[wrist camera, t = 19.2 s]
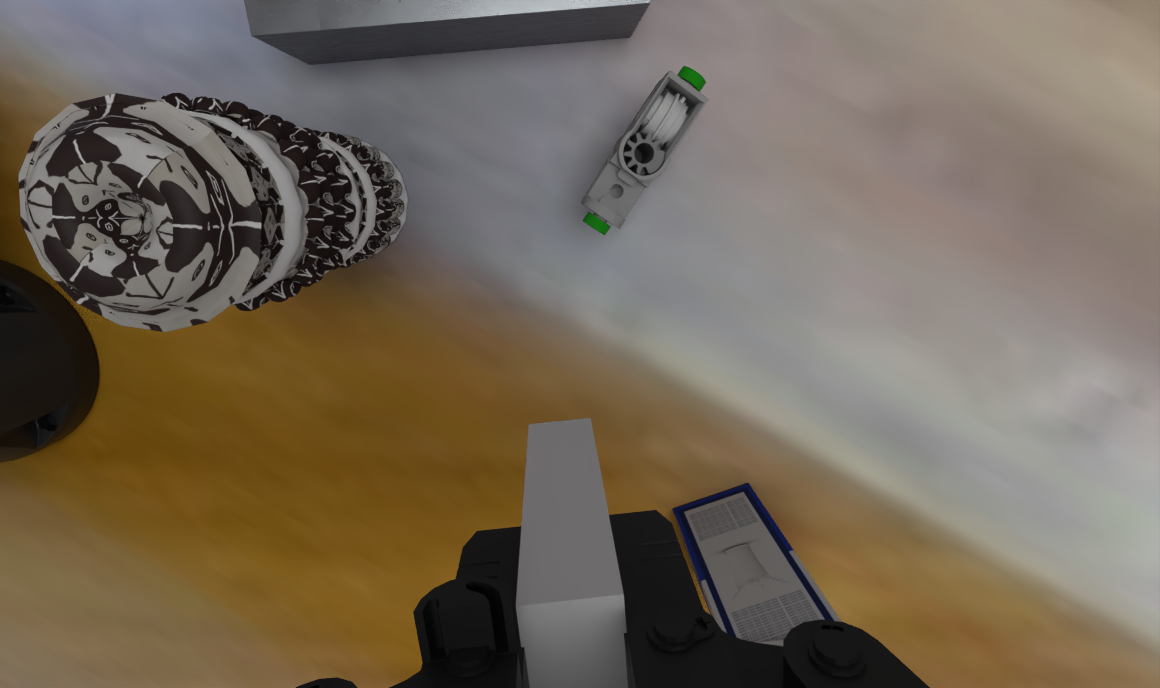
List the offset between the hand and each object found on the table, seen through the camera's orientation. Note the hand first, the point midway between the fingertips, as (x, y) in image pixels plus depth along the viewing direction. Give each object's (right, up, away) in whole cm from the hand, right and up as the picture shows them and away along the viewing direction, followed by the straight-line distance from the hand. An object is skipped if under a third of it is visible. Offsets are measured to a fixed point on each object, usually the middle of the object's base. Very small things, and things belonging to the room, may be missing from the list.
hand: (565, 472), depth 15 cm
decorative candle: (-16, +14, +29) cm, 36 cm away
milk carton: (+12, -13, +38) cm, 42 cm away
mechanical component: (+3, +17, +30) cm, 34 cm away
